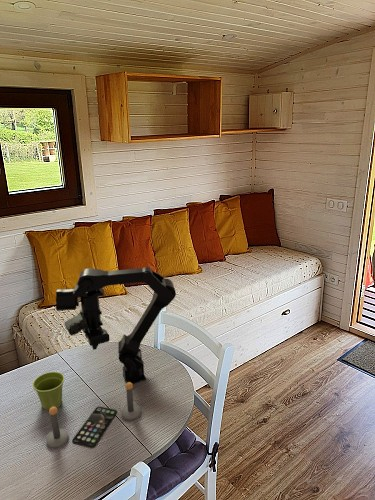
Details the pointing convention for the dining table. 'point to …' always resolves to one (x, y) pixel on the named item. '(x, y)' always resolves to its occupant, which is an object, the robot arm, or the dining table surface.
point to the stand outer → (56, 432)
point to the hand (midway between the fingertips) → (94, 349)
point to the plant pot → (49, 389)
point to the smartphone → (94, 427)
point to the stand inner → (130, 405)
